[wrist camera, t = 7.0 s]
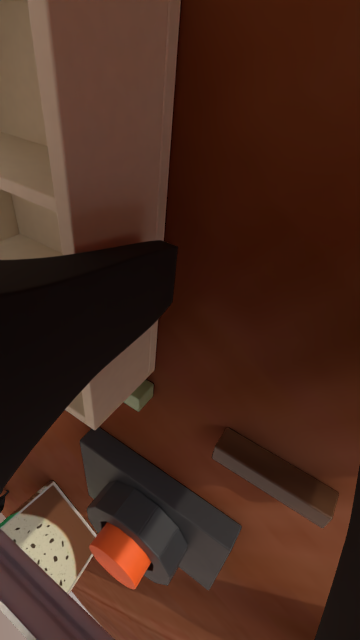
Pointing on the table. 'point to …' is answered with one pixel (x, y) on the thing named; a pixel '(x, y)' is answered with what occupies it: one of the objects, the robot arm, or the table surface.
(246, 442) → the guide rails
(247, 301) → the table surface
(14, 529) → the food container
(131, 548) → the desk button
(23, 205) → the compartment tray
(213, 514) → the button block
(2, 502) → the creature
